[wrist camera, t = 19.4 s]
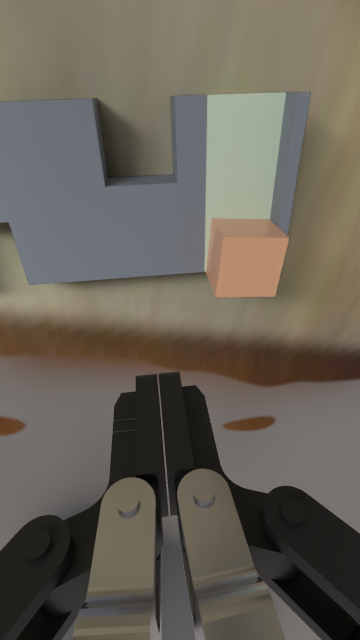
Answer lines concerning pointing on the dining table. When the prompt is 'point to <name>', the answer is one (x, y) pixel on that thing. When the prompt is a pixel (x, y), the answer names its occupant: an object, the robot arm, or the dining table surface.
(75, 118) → the board
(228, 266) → the block
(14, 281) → the dining table surface
